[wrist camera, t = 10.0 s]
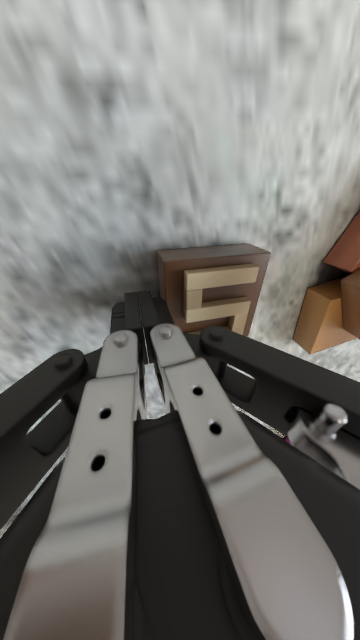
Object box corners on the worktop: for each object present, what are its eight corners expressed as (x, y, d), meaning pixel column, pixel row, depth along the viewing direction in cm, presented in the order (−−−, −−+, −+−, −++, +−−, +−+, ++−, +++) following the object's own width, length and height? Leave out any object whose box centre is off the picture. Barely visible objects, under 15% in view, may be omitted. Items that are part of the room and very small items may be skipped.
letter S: (162, 331, 14) (170, 357, 12) (156, 250, 11) (165, 265, 8) (234, 319, 15) (253, 341, 13) (249, 243, 12) (279, 255, 10)
